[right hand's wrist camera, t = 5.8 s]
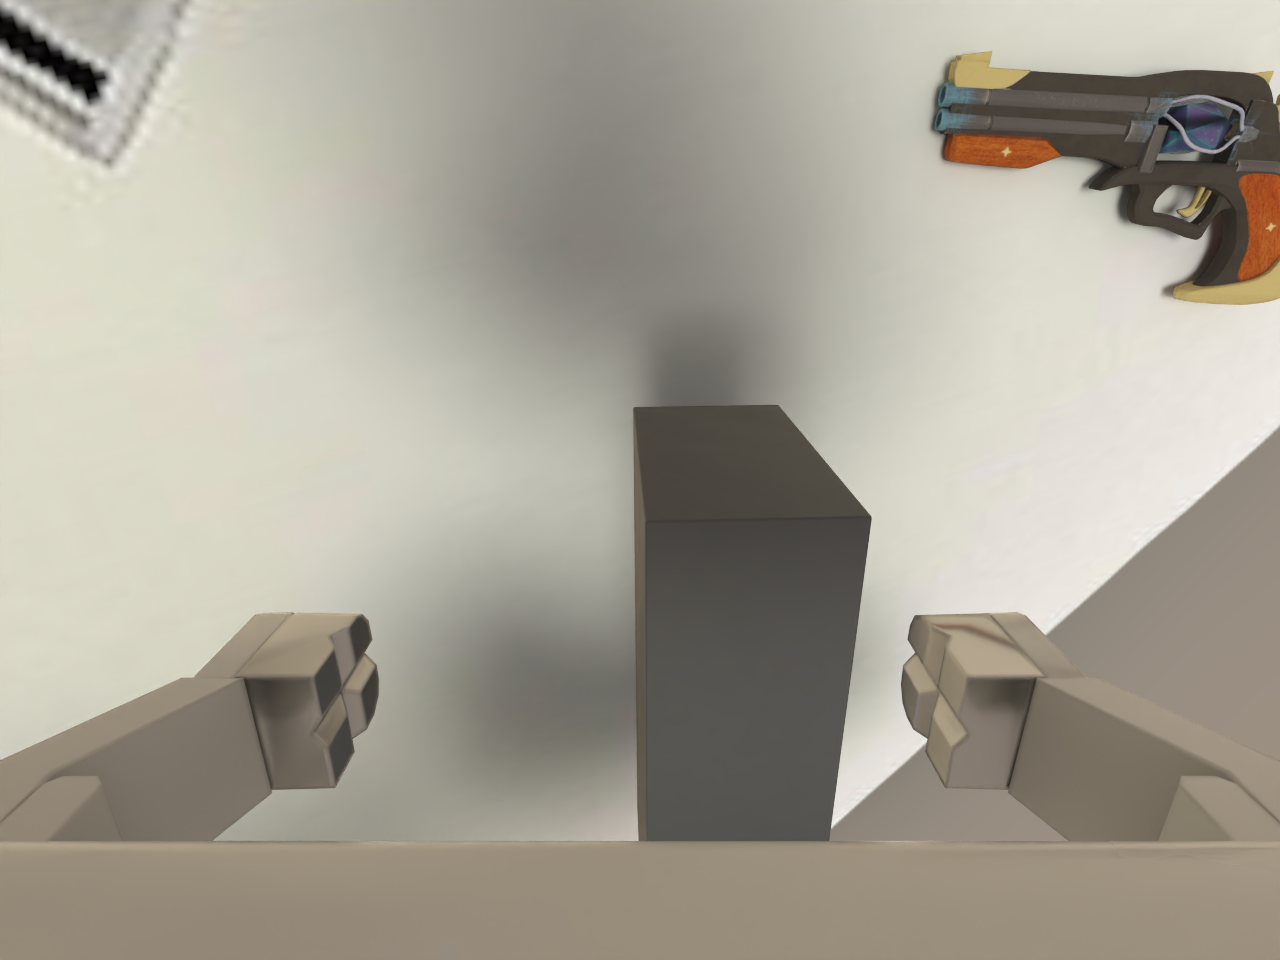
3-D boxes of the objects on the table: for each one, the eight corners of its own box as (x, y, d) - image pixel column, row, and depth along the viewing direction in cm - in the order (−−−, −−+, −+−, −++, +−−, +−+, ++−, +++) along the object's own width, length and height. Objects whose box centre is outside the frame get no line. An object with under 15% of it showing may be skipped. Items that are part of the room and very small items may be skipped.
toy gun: (1299, 312, 33) (1422, 73, 28) (906, 288, 33) (963, 46, 29) (1257, 298, 35) (1365, 76, 31) (891, 276, 36) (941, 52, 31)
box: (633, 406, 28) (644, 521, 18) (778, 404, 28) (873, 516, 18) (637, 806, 36) (647, 1044, 26) (750, 803, 36) (804, 1036, 26)
